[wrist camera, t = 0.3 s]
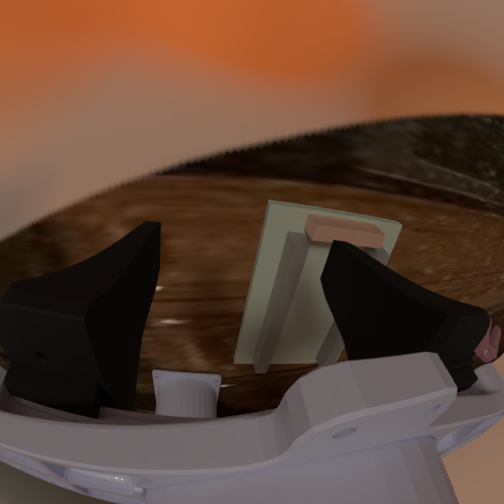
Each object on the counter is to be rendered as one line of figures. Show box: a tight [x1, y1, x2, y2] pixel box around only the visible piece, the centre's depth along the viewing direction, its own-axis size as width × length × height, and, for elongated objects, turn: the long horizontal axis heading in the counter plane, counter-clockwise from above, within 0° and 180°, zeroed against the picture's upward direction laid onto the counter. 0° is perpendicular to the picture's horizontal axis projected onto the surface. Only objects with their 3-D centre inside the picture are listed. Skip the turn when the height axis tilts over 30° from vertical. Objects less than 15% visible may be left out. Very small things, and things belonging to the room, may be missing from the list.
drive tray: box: [234, 200, 402, 373], centre depth 26 cm, size 18×12×3 cm, turn 170°
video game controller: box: [474, 317, 501, 363], centre depth 35 cm, size 10×5×7 cm, turn 58°
